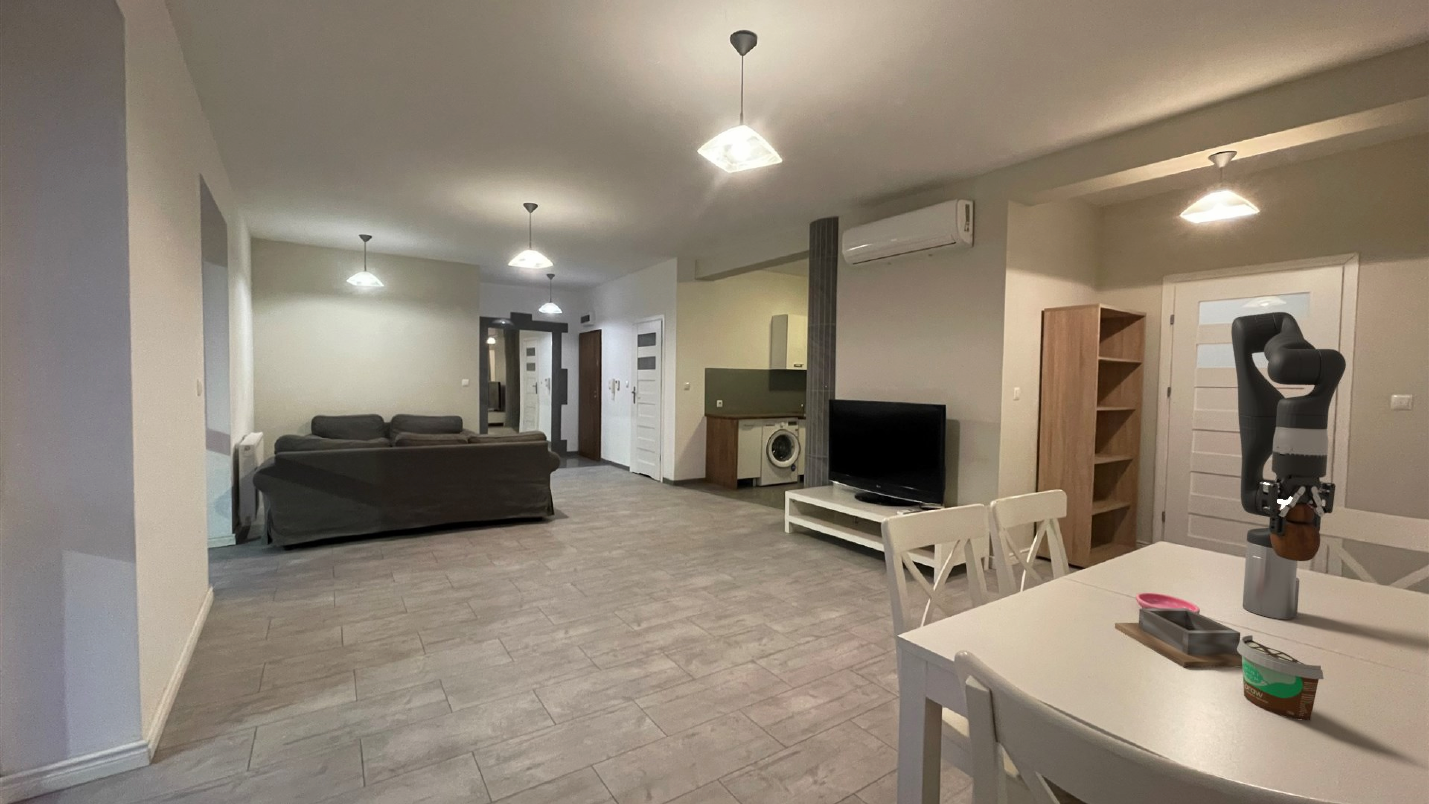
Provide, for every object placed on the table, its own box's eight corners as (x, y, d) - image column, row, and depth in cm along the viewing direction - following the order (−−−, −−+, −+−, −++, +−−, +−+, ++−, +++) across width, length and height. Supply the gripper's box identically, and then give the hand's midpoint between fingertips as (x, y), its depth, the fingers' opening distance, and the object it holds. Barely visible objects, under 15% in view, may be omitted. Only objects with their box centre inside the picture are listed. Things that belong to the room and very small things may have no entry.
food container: (1215, 686, 107) (1219, 634, 107) (1245, 685, 108) (1249, 633, 107) (1287, 726, 95) (1290, 668, 94) (1320, 725, 95) (1324, 667, 95)
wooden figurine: (1305, 556, 114) (1309, 482, 114) (1325, 565, 109) (1330, 487, 108) (1263, 552, 116) (1266, 480, 116) (1281, 561, 111) (1285, 485, 110)
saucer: (1175, 605, 147) (1176, 593, 147) (1212, 626, 134) (1213, 613, 134) (1124, 602, 148) (1124, 590, 148) (1156, 623, 136) (1156, 610, 136)
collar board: (1187, 627, 133) (1189, 603, 133) (1267, 666, 115) (1269, 638, 115) (1114, 628, 132) (1116, 603, 132) (1184, 667, 114) (1185, 639, 114)
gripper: (1310, 448, 116) (1305, 529, 117) (1246, 448, 115) (1241, 529, 115) (1355, 453, 109) (1349, 539, 109) (1287, 453, 107) (1281, 540, 108)
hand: (1294, 534), depth 112 cm, fingers closed on wooden figurine, 7 cm apart
